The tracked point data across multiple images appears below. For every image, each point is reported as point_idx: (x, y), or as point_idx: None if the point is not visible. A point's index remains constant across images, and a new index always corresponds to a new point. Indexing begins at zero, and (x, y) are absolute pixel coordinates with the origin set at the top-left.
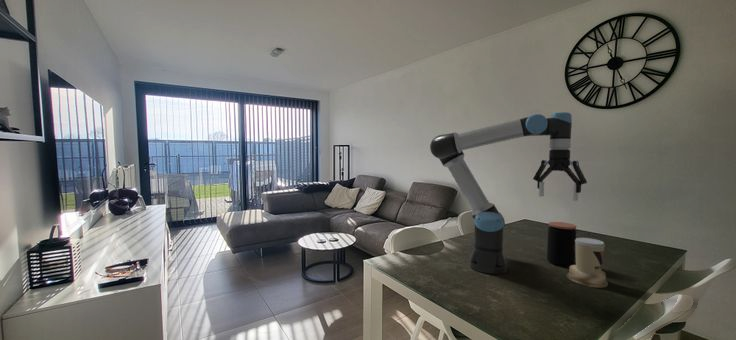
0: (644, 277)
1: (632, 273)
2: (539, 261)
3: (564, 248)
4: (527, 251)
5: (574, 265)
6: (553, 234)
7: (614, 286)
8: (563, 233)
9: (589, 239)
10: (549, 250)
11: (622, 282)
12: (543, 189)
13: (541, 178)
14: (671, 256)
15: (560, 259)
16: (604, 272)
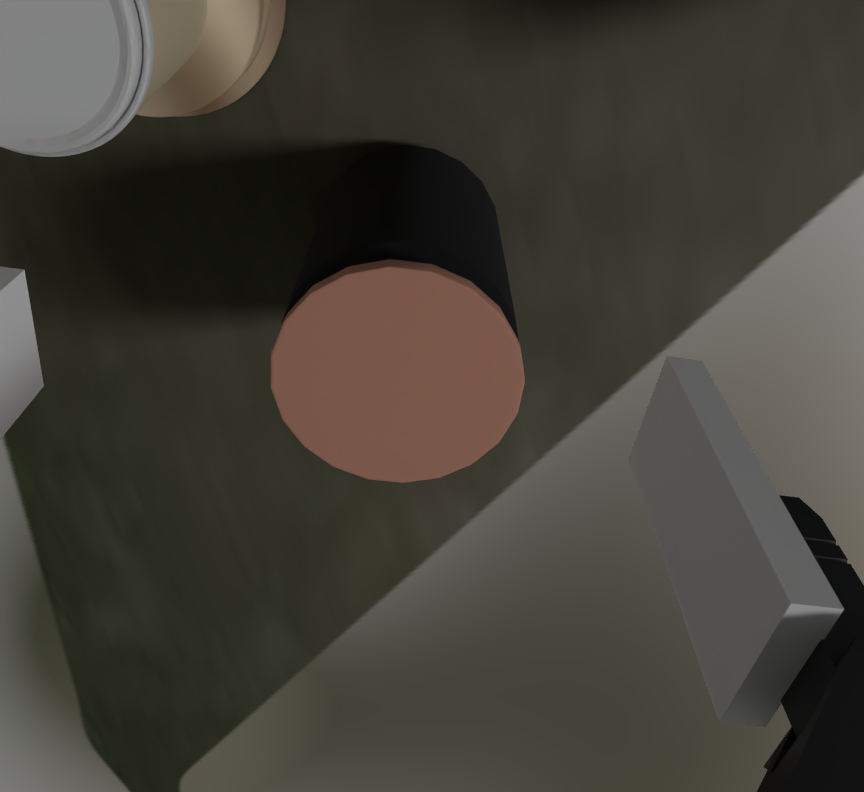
0: None
1: (76, 369)
2: (529, 140)
3: (351, 199)
4: (659, 307)
5: (241, 43)
6: (441, 233)
7: None
8: (348, 246)
9: (47, 105)
10: (471, 195)
11: None
12: (670, 539)
13: (843, 726)
14: (101, 733)
15: (382, 159)
16: None
